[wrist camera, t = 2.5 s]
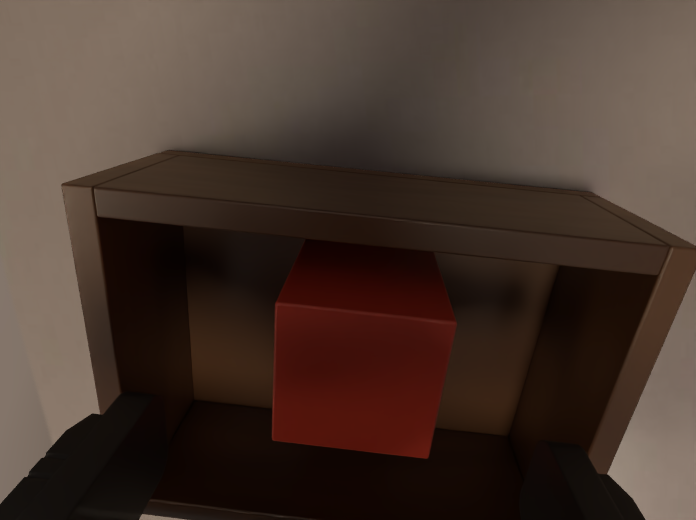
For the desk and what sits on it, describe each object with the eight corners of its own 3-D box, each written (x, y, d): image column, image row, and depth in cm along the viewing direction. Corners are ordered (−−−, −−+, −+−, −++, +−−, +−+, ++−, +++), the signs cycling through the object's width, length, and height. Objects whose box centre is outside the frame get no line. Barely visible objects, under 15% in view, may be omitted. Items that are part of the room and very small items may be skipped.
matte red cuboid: (310, 225, 16) (274, 302, 10) (430, 238, 16) (457, 322, 10) (304, 328, 18) (270, 441, 12) (412, 340, 17) (428, 460, 12)
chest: (166, 149, 16) (59, 183, 11) (593, 192, 16) (706, 249, 10) (185, 399, 20) (116, 512, 15) (517, 437, 20) (567, 568, 15)
